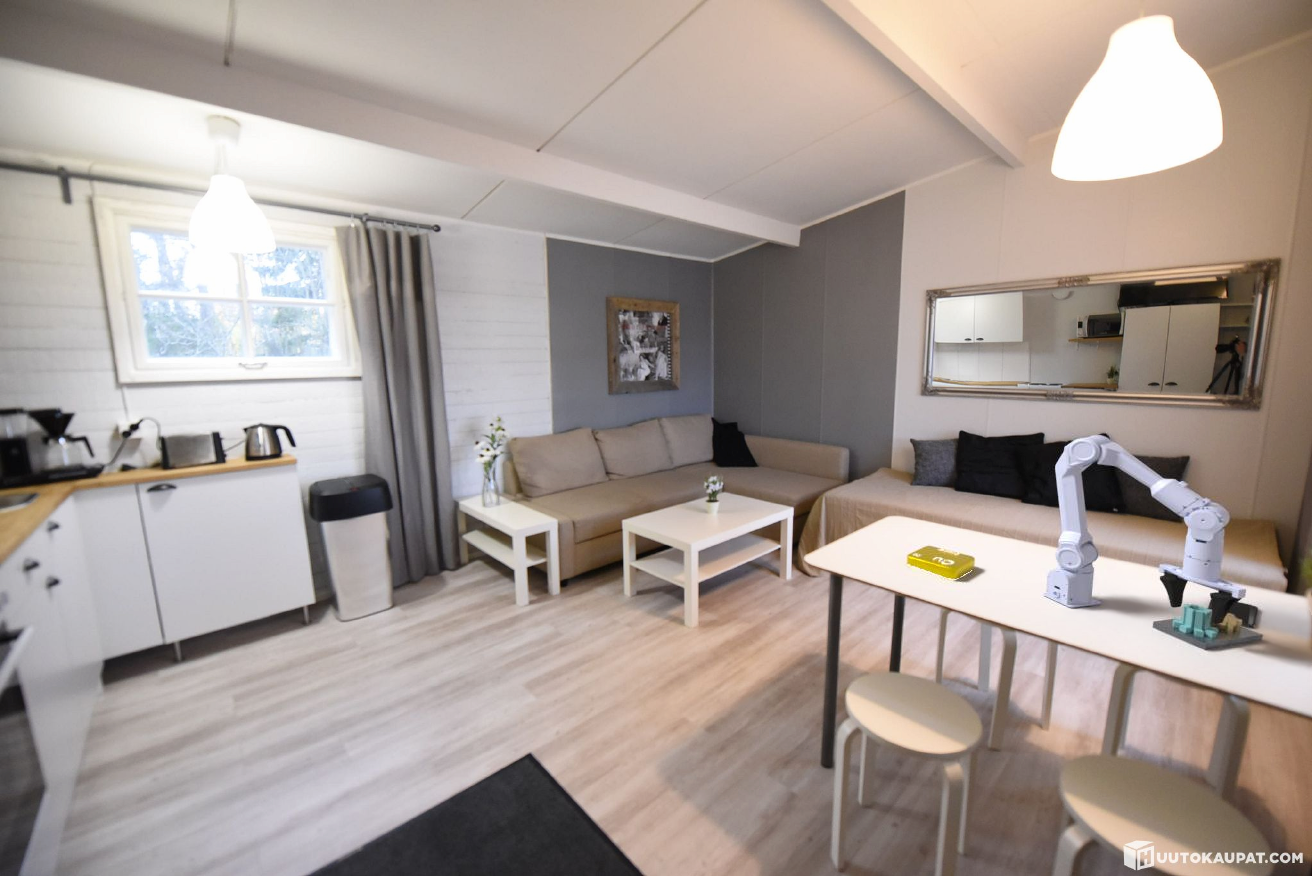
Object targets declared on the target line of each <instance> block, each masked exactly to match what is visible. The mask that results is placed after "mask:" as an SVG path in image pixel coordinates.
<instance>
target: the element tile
mask: <svg viewBox="0 0 1312 876" xmlns="http://www.w3.org/2000/svg"><path fill="white" fill-rule="evenodd" d="M975 563H976V560H975V557H974V556H972V555H968V554H964V553H960V552H956V551H952V550H948V549H945V548H940V547H936V546H932V545H925V546H923V547H921V548H919V549H916V550H915V551H913V552H911V553H908V554H907V555H906V565H907V564H910V565H911V566H915V567H918V568H920V569H924V570H926V571H930V572H932V573H935V574H938V575H941V576H943V577H946V578H951V579H957V578H960V577H961V576H963V575H964V574H966V573H968V572H970V571H971V570H973V569H974V570H975Z"/></svg>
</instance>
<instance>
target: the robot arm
mask: <svg viewBox="0 0 1312 876" xmlns="http://www.w3.org/2000/svg"><path fill="white" fill-rule="evenodd" d="M1096 462H1097V465H1101V466H1102V465H1104V466H1113V467H1116V468H1118V469H1120V470H1121V471H1123V472H1124V473H1126V474H1127V475H1129V476H1130V477H1132V478H1134V479H1135V480H1137V481H1138V482H1140V483H1141V484H1143V485H1145V486H1146V487H1148V488H1149V489H1150V494H1151V497H1152V498H1154V499H1155V500H1156V501H1158V502H1159V503H1161V504H1162V505H1164V506H1165V507H1167V508H1168V509H1169V510H1170V511H1172V512H1174V513H1175V514H1176V515H1178V516H1180V517H1181V518H1183V521H1184V523H1185V525H1186V526H1187V527H1188V528H1187V534H1186V536H1185V542H1184V543H1185V544H1184V545H1185V546H1184V554H1183V560H1182V561H1183V562H1182V566H1181V567H1179V566H1176V565H1171V564H1168V563H1162V564H1159V566H1158V567H1159V568H1158V573H1160V574H1163V575H1160V576H1159V580H1160V582H1161V583H1162V585H1163V587H1164V588H1165V591H1166V593H1167V597H1168V600H1169V604H1170V607H1171V608H1173V609H1176V608H1181V607H1182V606H1183V605H1182V604H1183V598H1184V592H1185V589H1186V585H1187V584H1188V582H1192V583H1194V584H1197V585H1199V586H1203V587H1206V588H1209V589H1212V590H1215V591H1216V592H1215V591H1214V592H1209V596H1210V601H1212V615H1211V622H1212V623H1215V624H1218V623H1223V620H1224V618H1225V616H1226V615H1227V613H1228V612H1229V610H1230V609H1231V608H1232V607H1233V606H1234V605H1235V604H1236V603H1237V602H1240V601H1241V600H1242V599H1244V598H1246V594H1247V588H1244V587H1242V586H1238V585H1236V584H1233V583H1232V582H1229V581H1228V580H1224V579H1223V578H1220V576H1221V569H1222V568H1221V567H1222V561H1223V554H1224V553H1223V552H1224V545H1225V539H1224V537H1225V528H1224V527H1225V526H1227V525H1228V524H1229V523H1230V518H1231V517H1230V513H1229V512H1228V511H1227V509H1225V508H1224V506H1223V505H1222V504H1219V503H1217V502H1212V500H1211V499H1210V498H1208V497H1205V498H1204V497H1202V496H1201V495H1199V494H1198V493H1197V492H1195V491H1194V490H1193V489H1191V488H1189V487H1188V486H1189V483H1187V482H1186V481H1184V480H1182V481H1178V480H1177V479H1175V478H1164V477H1162V476H1161V475H1160V474H1158V473H1157V472H1156V471H1154V470H1153V469H1151V468H1150V467H1149V466H1147V464H1145V463H1143V462H1142V461H1141V460H1140V459H1138V458H1137V457H1135V455H1132V453H1130V452H1129V451H1128V450H1126V449H1125V448H1123V447H1122V446H1121V445H1120V444H1118V443H1117V442H1114V441H1111V439H1109V437H1107V436H1104V435H1100V434H1092V435H1090V436H1088V437H1080V438H1077V439H1076V438H1075V439H1074V440H1072V441H1071V442H1070V443H1068V444H1067V445H1065V446H1064V449H1063V453H1061V455H1060V457H1059V458H1058V461H1057V462H1056V464H1055V468H1054V470H1055V478H1056V489H1057V496H1058V497H1057V498H1058V505H1059V506H1058V507H1059V514H1060V523H1061V525H1060V526H1061V535H1060V536H1059V539H1058V547H1057V550H1056V552H1055V560H1056V562H1057V564H1058V565H1057V567H1056V568H1054V569H1051V570H1050V571H1049V572H1048V573H1047V578H1046V589H1045V592H1043V593H1042V595H1043V596H1044V597H1046V598H1048V599H1051V600H1053V601H1055V602H1057V603H1058V604H1062V605H1064V606H1066V607H1068V608H1071V609H1073V608H1079V607H1080V608H1081V607H1087V606H1095V605H1101V601H1100V600H1099V601H1098V600H1097V599H1095V598H1093V597H1092V596H1093V585H1094V575H1095V573H1094V572H1095V567H1094V565H1093V563H1094V562H1096V561H1097V559H1098V558H1099V556H1100V555H1099V554H1100V552H1099V550H1098V547H1097V546H1096V545H1095V543H1094V540H1093V536H1092V535H1091V533H1090V532H1089V531H1088V522H1087V521H1088V520H1087V513H1086V512H1087V511H1086V504H1085V495H1084V494H1085V493H1084V485H1083V484H1084V483H1083V476H1082V472H1084V471H1085V470H1086V469H1087V468H1089V466H1091V465H1092V464H1094V463H1096Z"/></svg>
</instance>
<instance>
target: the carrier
mask: <svg viewBox="0 0 1312 876" xmlns="http://www.w3.org/2000/svg"><path fill="white" fill-rule="evenodd" d="M1209 610H1211V615H1212V609H1209ZM1175 618H1176V617H1173V618H1168V619H1161V620H1154V621H1152V628H1153V629H1156V630H1157V631H1160V632H1163V633H1165V634H1167V635H1170V636H1172V637H1174V638H1176V639H1179V640H1180V641H1183V642H1185V643H1188V644H1190V645H1192V646H1195V647H1197V648H1198V649H1202V650H1204V651H1208V650H1214V649H1221V648H1227V647H1233V646H1239V645H1245V644H1252V643H1258V642H1263V639H1264V638H1263V636H1264V635H1263V634H1261V633H1260V632H1257V631H1254V630H1252V629H1250V628H1245V627H1241V625H1242V620H1241V619H1237V618H1236V617H1235V616H1234V615H1233V614H1230V613H1227V615H1226V616H1225V618H1224V620H1223V623H1218V624H1215V623H1212V622H1211V619H1210V624H1211V627H1215V628H1217V629H1218V630H1219V631H1218V635H1216V637H1215V638H1211V637H1208V636H1206V635H1204V636H1203V637H1199V636H1195V634H1194V633H1193V632H1189V633H1185V632H1182V631H1180V630H1179V628H1177V627H1174V626H1173V620H1175ZM1180 618H1182V617H1180Z"/></svg>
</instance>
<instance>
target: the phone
mask: <svg viewBox="0 0 1312 876" xmlns="http://www.w3.org/2000/svg"><path fill="white" fill-rule="evenodd" d="M1207 608H1208V609H1212V601H1211V600H1210V601H1209V603H1208V606H1207ZM1258 610H1259V607H1258V606H1256V605H1252V604H1250V603H1243V602H1240V601H1238V602H1237V603H1236V604H1235V605H1234V606H1233V607H1232V608H1231V609H1230V610H1229V612H1228V613H1230V614H1233V615H1234V616H1235V617H1236V618H1237V619H1241V620H1242V625H1241V627H1244V628H1246V629H1250V630H1252V629H1255V627H1256V621H1257V617H1258Z"/></svg>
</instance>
